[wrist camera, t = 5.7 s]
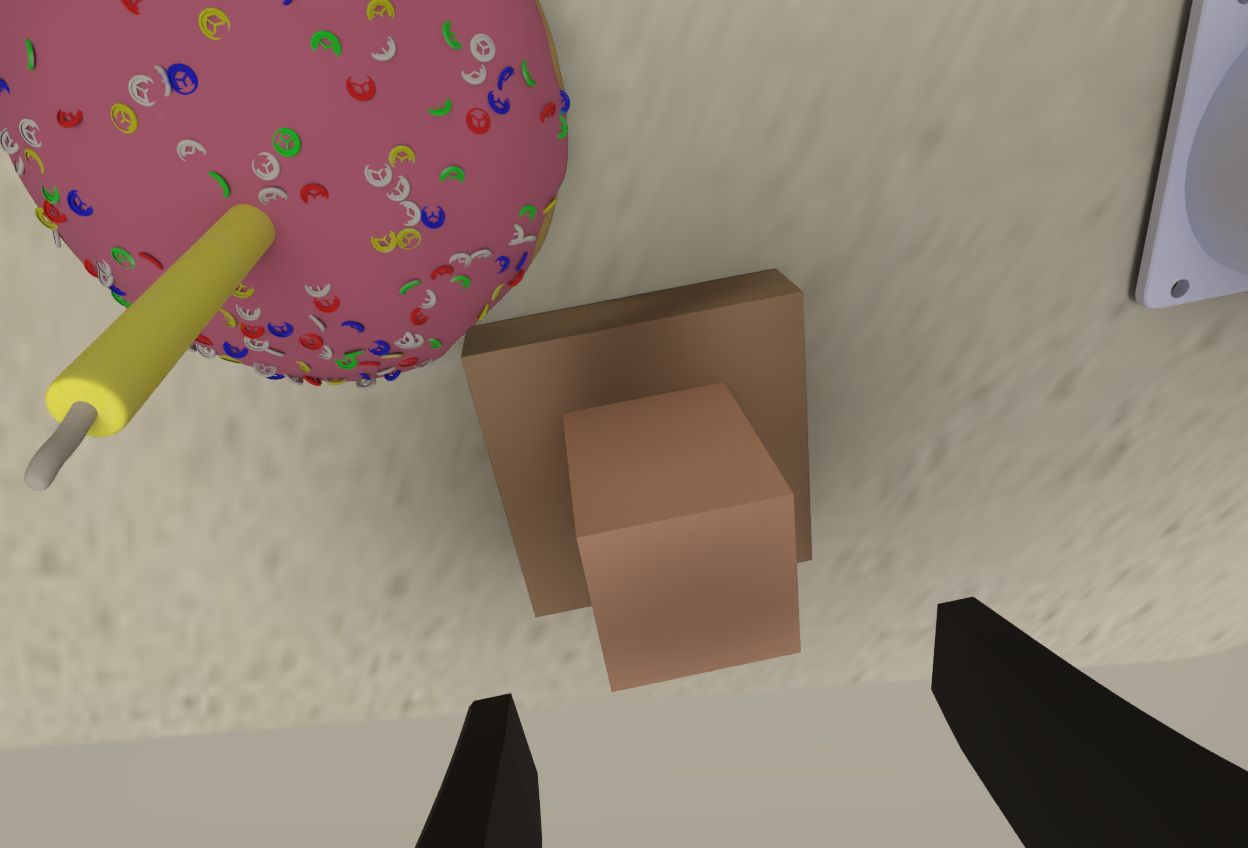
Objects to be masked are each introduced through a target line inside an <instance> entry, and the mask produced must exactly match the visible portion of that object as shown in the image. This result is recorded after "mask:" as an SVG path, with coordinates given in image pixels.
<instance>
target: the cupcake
mask: <svg viewBox="0 0 1248 848" xmlns="http://www.w3.org/2000/svg"><path fill="white" fill-rule="evenodd" d="M569 107H570V99H569V97H568V95H567V94H566V93H565V90H564V86H563V82H562V78H561V73H560V69H559V64H558V59H557V54H556V49H555V45H554V42H553V38H552V35H551V32H550V29H549V26H548V23H547V20H546V18H545V15H544V13H543V10H542V8H541V5H540V2H539V0H0V131H1V134H0V146H1V148H2V150H3V151H4V152H6V153H8V154H9V156H10V158H11V161H12V163H13V165H14V167H15V171H16V173H17V174H18V175H19V177H20V179H21V181H22V182H23V184H24V186H25V187H26V189H27V191H28V192H29V194H30V195H31V197H32V198H33V200H34V201H35V203H36V204H37V206H38V207H37V208H36V210H35V214H36V217H37V218H38V220H39V221H40V222H41V223H42V224H43V225H44V226H46V227H47V228H49V229H52V230H53V235H54V239H55V244H56V247H58V248H60V247H61V242H60V237H61V238H62V239H63V241H64V242H65V243H66V244H67V246H68V247H69V248H70V249H71V250H72V252H73V253H74V254H75V255H76V256H77V257H78V258H79V260H80V261H81V262H82V263H83V264H84V267H85V269H86V270H87V271H88V272H89V273H90V274H91V275H92V276H94V277H97V278H98V279H99V281H100V283H101V284H102V285H103V286H104V287H108V288H109V289H110V290H111V294H112V296H113V297H114V299H115V300H116V301H117V302H118V303H120V304H121V305H123V306H125V307H126V308H127V310H126V311H125V312H124V313H123V314H122V315H121V316H120V317H119V318H118V319H116V320H115V321H114V322H113V323H112V324H111V325H110V326H109V327H108V328H107V329H106V330H105V331H104V332H103V333H102V334H101V335H100V336H99V337H98V338H97V339H96V340H95V341H94V342H93V343H92V344H91V345H90V346H89V347H88V348H87V349H86V350H85V351H84V352H83V353H82V354H81V355H80V356H78V357H77V358H76V359H75V360H74V361H73V362H72V363H71V364H70V365H69V366H68V367H67V368H66V369H65V370H64V371H63V372H62V373H61V374H60V375H59V376H58V377H57V378H56V379H55V380H54V381H53V382H52V383H51V384H50V386H49V387H48V389H47V391H46V395H45V400H46V405H47V408H48V410H49V412H50V413H51V415H52V416H53V417H54V418H55V419H56V420H57V421H58V422H59V423H60V425H59V427H58V428H57V429H56V431H55V432H54V433H53V434H52V436H51V437H50V438H49V439H48V440H47V441H46V442H45V443H44V444H43V445H42V446H41V448H40V449H39V450H38V451H37V452H36V454H35V455H34V457H33V458H32V460H31V461H30V463H29V465H28V467H27V469H26V472H25V476H24V482H25V484H26V485H27V486H28V487H30V488H31V489H33V490H45V489H46V488H48V487H49V486H50V485H51V483H52V482H53V480H54V479H55V477H56V475H57V473H58V471H59V470H60V468H61V467H62V465H63V464H64V462H65V461H66V460H67V459H68V458H69V457H70V456H71V454H72V453H73V452H74V451H75V450H76V449H77V447H78V446H79V445H80V443H81V442H82V440H83V439H84V437H85V436H92V437H105V436H110V435H113V434H116V433H118V432H119V431H121V430H122V429H123V428H124V427H125V426H126V425H127V424H128V423H129V422H130V420H131V419H132V418H133V417H134V415H135V414H136V413H137V412H138V410H139V409H140V408H141V407H142V405H143V404H144V403H145V402H146V400H147V399H148V398H149V397H150V395H151V394H152V393H153V392H154V390H155V389H156V388H157V387H158V385H159V384H160V383H161V382H162V380H163V379H164V378H165V377H166V375H167V374H168V373H169V372H170V370H171V369H172V368H173V367H174V365H175V364H176V363H177V362H178V360H179V359H180V358H181V357H182V355H183V354H184V353H185V352H186V350H189V351H191V352H196V351H197V350H198V352H199V353H200V354H201V355H202V356H203V357H205V358H207V359H212V358H214V357H215V355H219V357H220V358H221V359H224V360H227V361H231V362H235V363H242V364H245V365H248V366H251V367H253V368H254V371H255V372H256V373H257V374H258V375H260V376H262V377H266V378H268V379H274V380H276V379H282V378H284V377H285V378H286V379H287V380H288V381H290V382H291V383H293V384H295V385H302V384H303V379H305V380H306V381H307V382H309V383H311V384H313V385H315V386H320V385H321V384H322V382H321V380H322V381H326V383H328V384H330V385H339V384H342V383H344V382H345V381H356V387H357V388H358V389H361V390H367V389H370V388H372V387H373V386H374V385H375V384H376V379H375V378H379V377H385V379H386V380H388V381H392V380H395V379H396V378H397V377H398V376H399V375H400V373H401V372H405V371H408V370H412V369H415V368H416V369H417V370H423V369H426V368H428V367H429V366H430V365H431V364H432V362H433V361H435V360H437V359H438V358H440V357H441V356H443V355H444V354H445V352H446V351H447V350H448V349H449V348H450V347H451V346H452V345H453V344H454V343H455V342H456V341H457V340H458V339H459V338H460V337H461V336H462V335H463V334H464V333H465V332H466V331H468V330H469V329H470V328H471V327H472V326H473V325H474V324H475V323H476V322H477V321H481V320H482V319H483V318H484V316H485V314H486V313H487V312H488V311H489V310H490V309H491V308H492V307H493V306H494V305H495V304H496V303H497V302H498V301H499V300H500V299H501V298H502V297H503V296H504V295H505V294H506V293H507V292H508V291H509V290H510V289H511V288H512V287H513V286H515V285H517V284H518V283H519V282H520V281H521V280H522V278H523V276H524V273H525V272H526V271H527V269H528V267H529V265H530V264H531V262H532V261H533V259H534V258H535V256H536V255H537V253H538V252H539V250H540V248H541V246H542V244H543V242H544V240H545V238H546V235H547V233H548V230H549V227H550V224H551V220H552V217H553V213H554V209H555V204H556V202H557V200H558V199H557V192H558V189H559V187H560V185H561V183H562V181H563V179H564V177H565V173H566V168H567V158H568V125H567V111H568V109H569ZM44 217H45V218H46V219H47V220H48V221H49V223H48V222H46V221H45V219H44ZM59 236H60V237H59ZM119 297H120V298H121V299H120V298H119ZM192 344H193V345H192ZM190 346H191V347H190ZM203 349H205V350H206V351H207V352H208V353H209V354H207V353H205V352H204V351H203ZM260 369H262V370H263V371H261V370H260ZM264 371H266V372H264ZM273 375H277V376H273ZM389 375H393V376H389ZM292 378H294V379H295V380H297V381H295V380H294V379H292ZM297 378H298V379H297ZM315 380H316V381H317V382H316V381H315ZM363 380H365V382H363V383H361V381H363ZM367 380H371V382H367ZM365 383H367V384H368V385H366V386H363V384H365Z"/></svg>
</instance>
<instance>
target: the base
mask: <svg viewBox="0 0 1248 848" xmlns="http://www.w3.org/2000/svg"><path fill="white" fill-rule="evenodd" d="M461 359H462V363H463V366H464V370H465V373H466V377H467V380H468V384H469V387H470V390H471V394H472V397H473V401H474V404H475V408H476V411H477V415H478V418H479V422H480V425H481V429H482V432H483V436H484V439H485V443H486V446H487V450H488V453H489V457H490V460H491V464H492V467H493V471H494V474H495V478H496V481H497V485H498V488H499V492H500V495H501V498H502V502H503V505H504V509H505V512H506V516H507V519H508V523H509V526H510V530H511V533H512V537H513V540H514V544H515V547H516V551H517V554H518V558H519V561H520V565H521V568H522V572H523V575H524V579H525V582H526V586H527V589H528V593H529V596H530V600H531V603H532V606H533V610H534V613H535V617H540V616H545V615H550V614H555V613H559V612H564V611H569V610H574V609H579V608H583V607H588V606H592V603H591V599H590V595H589V590H588V586H587V582H586V577H585V573H584V569H583V564H582V560H581V556H580V551H579V547H578V543H577V538H576V530H575V521H574V512H573V503H572V494H571V485H570V477H569V468H568V459H567V450H566V441H565V432H564V423H563V414H562V413H568V412H573V411H578V410H583V409H588V408H593V407H598V406H604V405H609V404H614V403H619V402H624V401H629V400H634V399H640V398H645V397H650V396H655V395H660V394H665V393H670V392H675V391H681V390H686V389H691V388H696V387H701V386H706V385H711V384H717V383H722V382H725V384H726V386H727V387H728V389H729V391H730V392H731V394H732V395H733V397H734V399H735V400H736V402H737V403H738V405H739V407H740V408H741V410H742V412H743V413H744V415H745V416H746V418H747V420H748V421H749V423H750V424H751V426H752V428H753V429H754V431H755V433H756V434H757V436H758V437H759V439H760V441H761V442H762V444H763V445H764V447H765V449H766V450H767V452H768V454H769V455H770V457H771V458H772V460H773V462H774V463H775V465H776V466H777V468H778V470H779V471H780V473H781V475H782V476H783V478H784V479H785V481H786V483H787V484H788V486H789V487H790V489H791V491H792V492H793V494H794V515H795V537H796V560H797V563H799V562H804V561H809V560H812V544H811V516H810V487H809V458H808V430H807V401H806V373H805V344H804V316H803V291H801V290H800V289H799V288H798V287H797V286H795V285H794V284H793V283H792V282H791V281H789V280H788V279H787V278H786V277H785V276H784V275H782V274H781V273H780V272H779V271H778V270H776V269H771V270H766V271H761V272H756V273H751V274H745V275H740V276H735V277H730V278H724V279H719V280H714V281H709V282H703V283H698V284H693V285H688V286H683V287H677V288H672V289H667V290H662V291H656V292H651V293H646V294H641V295H635V296H630V297H625V298H620V299H615V300H609V301H604V302H599V303H594V304H588V305H583V306H578V307H573V308H567V309H562V310H557V311H552V312H547V313H541V314H536V315H531V316H526V317H520V318H515V319H510V320H505V321H499V322H494V323H489V324H484V325H479V326H473V327H471V328H470V329H469V330H468V331H466V335H465V340H464V345H463V350H462V355H461Z"/></svg>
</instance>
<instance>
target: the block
mask: <svg viewBox="0 0 1248 848" xmlns="http://www.w3.org/2000/svg"><path fill="white" fill-rule="evenodd" d="M562 414H563V423H564V432H565V441H566V450H567V459H568V468H569V477H570V485H571V494H572V503H573V512H574V521H575V530H576V538H577V543H578V547H579V551H580V556H581V560H582V564H583V569H584V573H585V577H586V582H587V586H588V590H589V595H590V599H591V603H592V608H593V612H594V617H595V621H596V625H597V630H598V634H599V638H600V643H601V647H602V651H603V656H604V660H605V664H606V669H607V673H608V677H609V682H610V686H611V690H612V692H614V691H619V690H624V689H628V688H633V687H638V686H643V685H647V684H652V683H657V682H662V681H666V680H671V679H676V678H680V677H685V676H690V675H695V674H699V673H704V672H709V671H713V670H718V669H723V668H728V667H732V666H737V665H742V664H747V663H751V662H756V661H761V660H765V659H770V658H775V657H780V656H784V655H789V654H794V653H798V652H801V648H800V626H799V604H798V582H797V560H796V537H795V515H794V494H793V492H792V491H791V489H790V487H789V486H788V484H787V483H786V481H785V479H784V478H783V476H782V475H781V473H780V471H779V470H778V468H777V466H776V465H775V463H774V462H773V460H772V458H771V457H770V455H769V454H768V452H767V450H766V449H765V447H764V445H763V444H762V442H761V441H760V439H759V437H758V436H757V434H756V433H755V431H754V429H753V428H752V426H751V424H750V423H749V421H748V420H747V418H746V416H745V415H744V413H743V412H742V410H741V408H740V407H739V405H738V403H737V402H736V400H735V399H734V397H733V395H732V394H731V392H730V391H729V389H728V387H727V386H726V384H725V382H722V383H717V384H711V385H706V386H701V387H696V388H691V389H686V390H681V391H675V392H670V393H665V394H660V395H655V396H650V397H645V398H640V399H634V400H629V401H624V402H619V403H614V404H609V405H604V406H598V407H593V408H588V409H583V410H578V411H573V412H568V413H562Z"/></svg>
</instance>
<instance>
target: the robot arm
mask: <svg viewBox="0 0 1248 848" xmlns="http://www.w3.org/2000/svg"><path fill="white" fill-rule="evenodd" d="M1177 281H1178V283H1177V285H1176V287H1175V288H1174V289H1173V290H1172V291H1171V289H1172V287H1173V285H1174V284H1175V283H1176V282H1177ZM1246 291H1248V0H1238V1H1237V0H1193V3H1192V8H1191V13H1190V18H1189V23H1188V28H1187V33H1186V38H1185V43H1184V48H1183V53H1182V58H1181V63H1180V68H1179V74H1178V79H1177V84H1176V89H1175V94H1174V99H1173V104H1172V109H1171V114H1170V119H1169V124H1168V129H1167V134H1166V139H1165V144H1164V149H1163V155H1162V160H1161V165H1160V170H1159V175H1158V180H1157V185H1156V190H1155V195H1154V200H1153V205H1152V210H1151V215H1150V220H1149V225H1148V230H1147V235H1146V241H1145V246H1144V251H1143V256H1142V261H1141V266H1140V271H1139V276H1138V281H1137V286H1136V291H1135V298H1136V300H1137V302H1138V303H1139V304H1141V305H1143V306H1145V307H1148V308H1150V309H1160V308H1165V307H1170V306H1175V305H1180V304H1185V303H1190V302H1195V301H1200V300H1205V299H1210V298H1215V297H1220V296H1226V295H1231V294H1236V293H1241V292H1246ZM931 690H932V692H933V694H934V696H935V698H936V700H937V702H938V704H939V706H940V708H941V710H942V712H943V714H944V717H945V719H946V721H947V723H948V725H949V726H950V728H951V730H952V732H953V734H954V736H955V738H956V740H957V742H958V744H959V746H960V748H961V749H962V751H963V753H964V754H965V756H966V757H967V759H968V761H969V762H970V764H971V765H972V767H973V768H974V770H975V771H976V773H977V774H978V776H979V778H980V779H981V781H982V782H983V784H984V785H985V787H986V788H987V790H988V791H989V793H990V795H991V796H992V798H993V799H994V801H995V802H996V804H997V805H998V806H999V808H1000V810H1001V811H1002V813H1003V814H1004V816H1005V817H1006V819H1007V820H1008V822H1009V823H1010V825H1011V826H1012V828H1013V830H1014V831H1015V833H1016V834H1017V835H1018V837H1019V839H1020V840H1021V842H1022V843H1023V845H1024V846H1025V848H1248V771H1246V770H1244V769H1242V768H1240V767H1239V766H1237V765H1235V764H1233V763H1231V762H1229V761H1227V760H1226V759H1224V758H1222V757H1220V756H1218V755H1216V754H1215V753H1213V752H1211V751H1209V750H1207V749H1206V748H1204V747H1202V746H1200V745H1199V744H1197V743H1195V742H1193V741H1192V740H1190V739H1188V738H1186V737H1185V736H1183V735H1181V734H1180V733H1178V732H1176V731H1175V730H1173V729H1171V728H1170V727H1168V726H1166V725H1165V724H1163V723H1161V722H1160V721H1158V720H1156V719H1155V718H1153V717H1151V716H1150V715H1148V714H1146V713H1145V712H1143V711H1141V710H1140V709H1138V708H1137V707H1135V706H1134V705H1132V704H1130V703H1129V702H1127V701H1125V700H1124V699H1122V698H1121V697H1119V696H1118V695H1116V694H1115V693H1113V692H1111V691H1110V690H1109V689H1107V688H1105V687H1104V686H1102V685H1101V684H1099V683H1098V682H1096V681H1095V680H1093V679H1092V678H1090V677H1089V676H1087V675H1086V674H1084V673H1083V672H1081V671H1080V670H1078V669H1077V668H1075V667H1074V666H1072V665H1071V664H1069V663H1068V662H1066V661H1065V660H1063V659H1062V658H1060V657H1059V656H1058V655H1056V654H1055V653H1053V652H1052V651H1050V650H1049V649H1047V648H1046V647H1045V646H1043V645H1042V644H1040V643H1039V642H1037V641H1036V640H1034V639H1033V638H1032V637H1030V636H1029V635H1027V634H1026V633H1024V632H1023V631H1022V630H1020V629H1019V628H1017V627H1016V626H1014V625H1013V624H1012V623H1010V622H1009V621H1007V620H1006V619H1004V618H1003V617H1002V616H1000V615H999V614H997V613H996V612H995V611H993V610H992V609H990V608H989V607H987V606H986V605H985V604H983V603H982V602H980V601H979V600H977V599H976V598H974V597H969V598H964V599H960V600H955V601H950V602H945V603H940V604H938V608H937V621H936V634H935V647H934V660H933V673H932V686H931ZM415 848H542V831H541V814H540V800H539V787H538V773H537V770H536V767H535V764H534V761H533V758H532V755H531V752H530V749H529V746H528V743H527V740H526V737H525V734H524V731H523V728H522V725H521V722H520V719H519V716H518V713H517V710H516V707H515V704H514V701H513V698H512V695H511V693H510V694H505V695H500V696H495V697H491V698H486V699H481V700H476V701H474V702H473V703H472V704H471V705H470V707H469V709H468V712H467V715H466V718H465V722H464V725H463V728H462V731H461V734H460V737H459V739H458V742H457V745H456V748H455V751H454V753H453V756H452V759H451V761H450V764H449V767H448V769H447V772H446V774H445V777H444V780H443V782H442V785H441V788H440V790H439V792H438V795H437V797H436V799H435V802H434V804H433V806H432V809H431V811H430V814H429V816H428V818H427V821H426V823H425V825H424V828H423V830H422V833H421V835H420V837H419V839H418V842H417V844H416V846H415Z"/></svg>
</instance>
